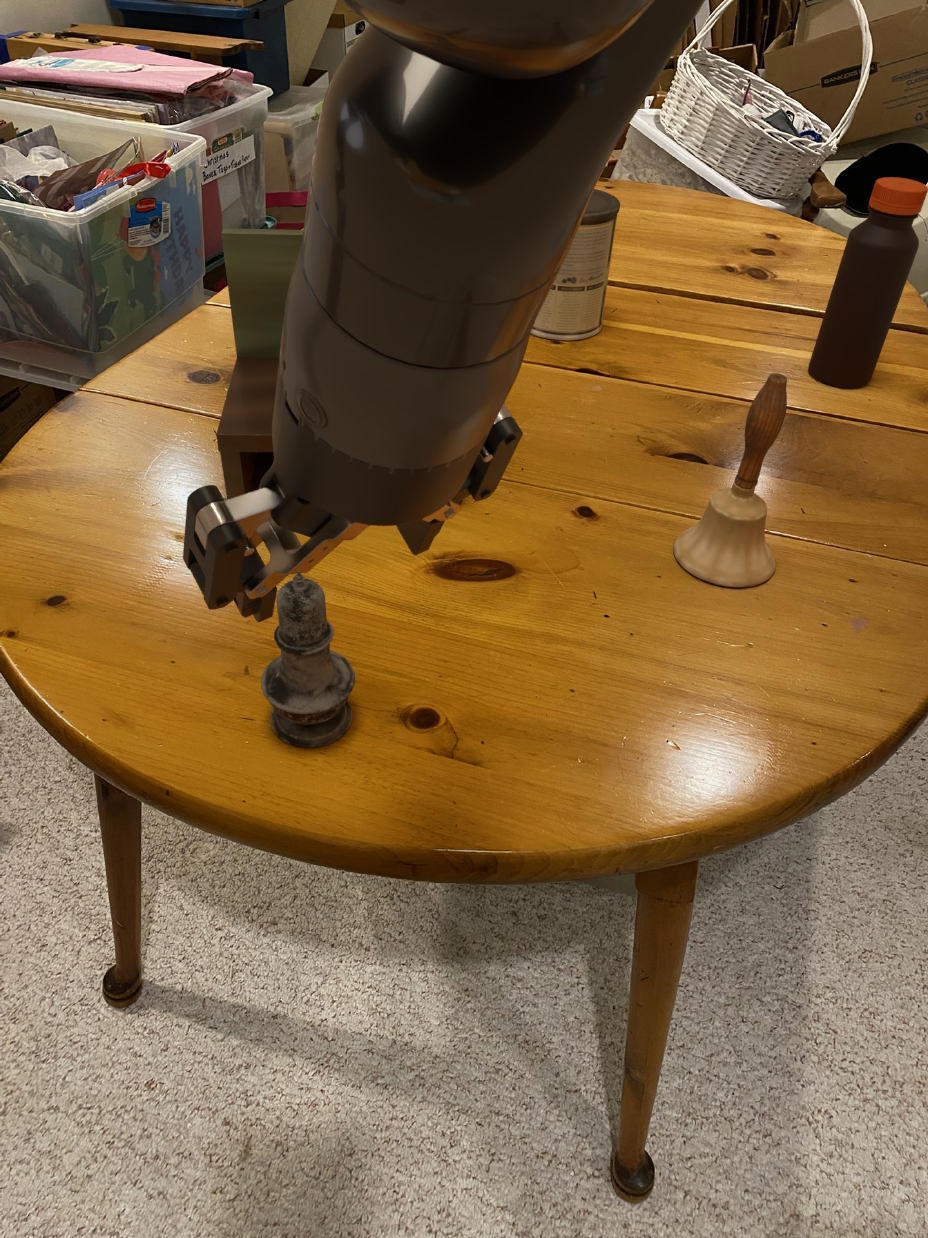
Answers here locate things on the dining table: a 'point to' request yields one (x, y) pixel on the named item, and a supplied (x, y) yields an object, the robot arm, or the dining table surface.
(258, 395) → the shelf
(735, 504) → the hand bell
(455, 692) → the dining table surface
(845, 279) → the bottle
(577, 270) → the coffee can
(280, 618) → the grey turned spindle
